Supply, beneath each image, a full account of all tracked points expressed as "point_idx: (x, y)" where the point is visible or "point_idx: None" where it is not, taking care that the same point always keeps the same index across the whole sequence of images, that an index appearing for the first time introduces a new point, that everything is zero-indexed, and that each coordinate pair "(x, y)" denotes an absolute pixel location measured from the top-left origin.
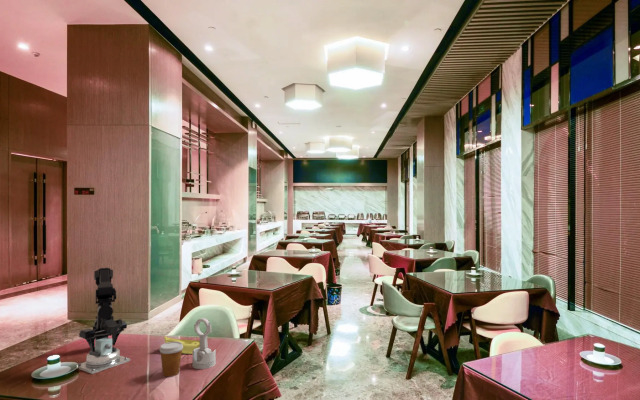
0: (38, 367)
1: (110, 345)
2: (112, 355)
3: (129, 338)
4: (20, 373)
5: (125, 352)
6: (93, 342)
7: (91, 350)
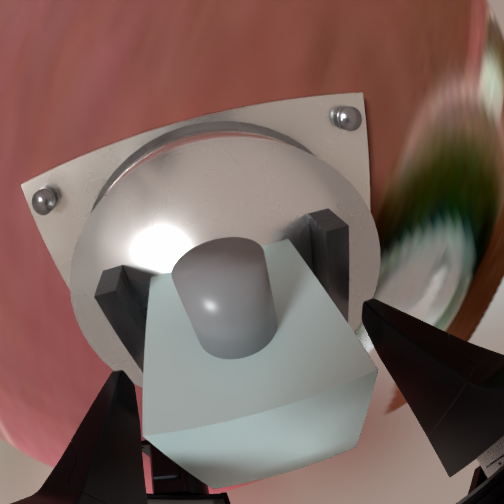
0: None
1: (191, 280)
2: (172, 150)
3: None
4: None
5: (62, 364)
6: (462, 360)
7: None
